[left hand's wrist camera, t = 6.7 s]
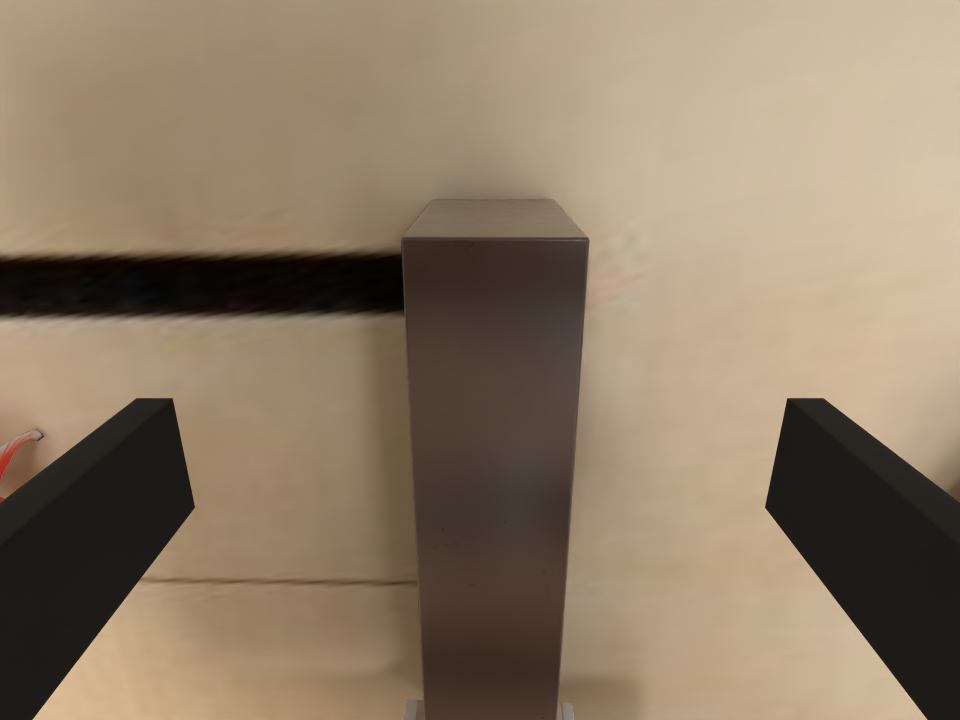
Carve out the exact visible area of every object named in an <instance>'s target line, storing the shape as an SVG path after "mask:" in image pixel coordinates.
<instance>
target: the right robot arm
mask: <svg viewBox="0 0 960 720" xmlns="http://www.w3.org/2000/svg"><path fill="white" fill-rule="evenodd" d="M404 720H424V702H423V700H408V701H407V704H406V711H405V718H404ZM557 720H575V718H574V711H573V705H572V703H571V702H561V703H560V702H558V711H557Z"/></svg>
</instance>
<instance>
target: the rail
mask: <svg viewBox="0 0 960 720" xmlns="http://www.w3.org/2000/svg"><path fill="white" fill-rule="evenodd" d="M401 251H402V271H403V292H404V312H405V333H406V353H407V374H408V394H409V415H410V435H411V456H412V476H413V497H414V517H415V538H416V558H417V579H418V599H419V620H420V640H421V661H422V681H423V702H424V720H557V711H558V696H559V681H560V667H561V652H562V637H563V622H564V608H565V593H566V578H567V564H568V549H569V534H570V519H571V505H572V490H573V475H574V461H575V446H576V431H577V416H578V402H579V387H580V372H581V358H582V343H583V328H584V313H585V299H586V284H587V269H588V255H589V238H588V237H587V236H586V235H585V234H584V233H583V231H582V230H581V229H580V228H579V227H578V226H577V225H576V224H575V223H574V222H573V220H572V219H571V218H570V217H569V216H568V215H567V214H566V213H565V212H564V211H563V209H562V208H561V207H560V206H559V205H558V204H557V203H556V202H555V201H554V200H432V201H431V202H430V203H429V204H428V206H427V207H426V208H425V209H424V211H423V212H422V213H421V214H420V216H419V217H418V218H417V219H416V221H415V222H414V223H413V224H412V226H411V227H410V228H409V229H408V231H407V232H406V233H405V234H404V236H403V237H402V239H401Z"/></svg>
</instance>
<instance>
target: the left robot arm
mask: <svg viewBox="0 0 960 720" xmlns="http://www.w3.org/2000/svg"><path fill="white" fill-rule="evenodd" d="M194 508H195V505H194V501H193V496H192V491H191V486H190V481H189V476H188V471H187V466H186V461H185V457H184V452H183V447H182V442H181V437H180V432H179V427H178V422H177V418H176V413H175V408H174V403H173V398H136V399H135V400H134V401H133V402H131V403H130V404H129V405H127V406H126V407H125V408H123V409H122V410H121V411H120V412H118V413H117V414H116V415H114V416H113V417H112V418H110V419H109V420H108V421H106V422H105V423H104V424H103V425H101V426H100V427H99V428H97V429H96V430H95V431H93V432H92V433H91V434H90V435H88V436H87V437H86V438H84V439H83V440H82V441H80V442H79V443H78V444H76V445H75V446H74V447H73V448H71V449H70V450H69V451H67V452H66V453H65V454H63V455H62V456H61V457H60V458H58V459H57V460H56V461H54V462H53V463H52V464H50V465H49V466H48V467H46V468H45V469H44V470H43V471H41V472H40V473H39V474H37V475H36V476H35V477H33V478H32V479H31V480H30V481H28V482H27V483H26V484H24V485H23V486H22V487H20V488H19V489H18V490H16V491H15V492H14V493H13V494H11V495H10V496H9V497H7V498H6V499H5V500H3V501H2V502H1V503H0V720H33V718H34V717H35V716H36V714H37V713H38V712H39V710H40V709H41V708H42V706H43V705H44V704H45V703H46V701H47V700H48V699H49V697H50V696H51V695H52V693H53V692H54V691H55V690H56V688H57V687H58V686H59V684H60V683H61V682H62V680H63V679H64V678H65V676H66V675H67V674H68V673H69V671H70V670H71V669H72V667H73V666H74V665H75V663H76V662H77V661H78V659H79V658H80V657H81V656H82V654H83V653H84V652H85V650H86V649H87V648H88V646H89V645H90V644H91V642H92V641H93V640H94V639H95V637H96V636H97V635H98V633H99V632H100V631H101V629H102V628H103V627H104V626H105V624H106V623H107V622H108V620H109V619H110V618H111V616H112V615H113V614H114V612H115V611H116V610H117V609H118V607H119V606H120V605H121V603H122V602H123V601H124V599H125V598H126V597H127V595H128V594H129V593H130V592H131V590H132V589H133V588H134V586H135V585H136V584H137V582H138V581H139V580H140V578H141V577H142V576H143V575H144V573H145V572H146V571H147V569H148V568H149V567H150V565H151V564H152V563H153V562H154V560H155V559H156V558H157V556H158V555H159V554H160V552H161V551H162V550H163V548H164V547H165V546H166V545H167V543H168V542H169V541H170V539H171V538H172V537H173V535H174V534H175V533H176V531H177V530H178V529H179V528H180V526H181V525H182V524H183V522H184V521H185V520H186V518H187V517H188V516H189V514H190V513H191V512H192V511H193V509H194ZM765 508H766V509H767V511H768V512H769V513H770V514H771V516H772V517H773V518H774V520H775V521H776V522H777V524H778V525H779V526H780V528H781V529H782V530H783V531H784V533H785V534H786V535H787V537H788V538H789V539H790V541H791V542H792V543H793V545H794V546H795V547H796V548H797V550H798V551H799V552H800V554H801V555H802V556H803V558H804V559H805V560H806V562H807V563H808V564H809V565H810V567H811V568H812V569H813V571H814V572H815V573H816V575H817V576H818V577H819V578H820V580H821V581H822V582H823V584H824V585H825V586H826V588H827V589H828V590H829V592H830V593H831V594H832V595H833V597H834V598H835V599H836V601H837V602H838V603H839V605H840V606H841V607H842V609H843V610H844V611H845V612H846V614H847V615H848V616H849V618H850V619H851V620H852V622H853V623H854V624H855V626H856V627H857V628H858V629H859V631H860V632H861V633H862V635H863V636H864V637H865V639H866V640H867V641H868V642H869V644H870V645H871V646H872V648H873V649H874V650H875V652H876V653H877V654H878V656H879V657H880V658H881V659H882V661H883V662H884V663H885V665H886V666H887V667H888V669H889V670H890V671H891V673H892V674H893V675H894V676H895V678H896V679H897V680H898V682H899V683H900V684H901V686H902V687H903V688H904V690H905V691H906V692H907V693H908V695H909V696H910V697H911V699H912V700H913V701H914V703H915V704H916V705H917V706H918V708H919V709H920V710H921V712H922V713H923V714H924V716H925V717H926V718H927V720H960V503H959V502H958V501H957V500H955V499H954V498H953V497H951V496H950V495H949V494H947V493H946V492H945V491H944V490H942V489H941V488H940V487H938V486H937V485H936V484H934V483H933V482H932V481H930V480H929V479H928V478H927V477H925V476H924V475H923V474H921V473H920V472H919V471H917V470H916V469H915V468H914V467H912V466H911V465H910V464H908V463H907V462H906V461H904V460H903V459H902V458H900V457H899V456H898V455H897V454H895V453H894V452H893V451H891V450H890V449H889V448H887V447H886V446H885V445H884V444H882V443H881V442H880V441H878V440H877V439H876V438H874V437H873V436H872V435H870V434H869V433H868V432H867V431H865V430H864V429H863V428H861V427H860V426H859V425H857V424H856V423H855V422H854V421H852V420H851V419H850V418H848V417H847V416H846V415H844V414H843V413H842V412H840V411H839V410H838V409H837V408H835V407H834V406H833V405H831V404H830V403H829V402H827V401H826V400H825V399H824V398H787V403H786V408H785V413H784V418H783V422H782V427H781V432H780V437H779V442H778V447H777V452H776V457H775V461H774V466H773V471H772V476H771V481H770V486H769V491H768V496H767V501H766V505H765Z"/></svg>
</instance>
